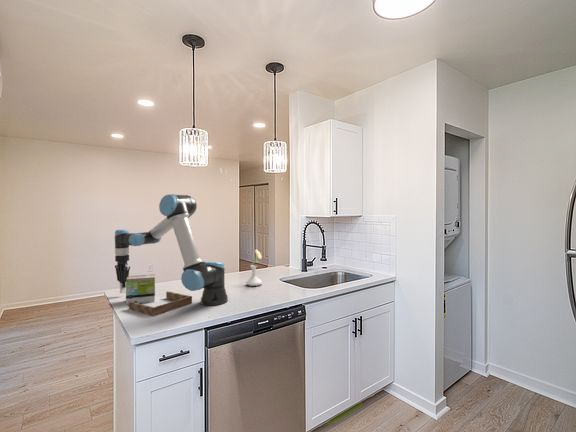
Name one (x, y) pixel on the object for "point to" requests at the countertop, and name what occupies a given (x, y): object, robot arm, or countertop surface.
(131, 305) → the walnut bay
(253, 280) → the flower in vase
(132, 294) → the tea box
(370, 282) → the countertop surface
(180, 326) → the countertop surface
